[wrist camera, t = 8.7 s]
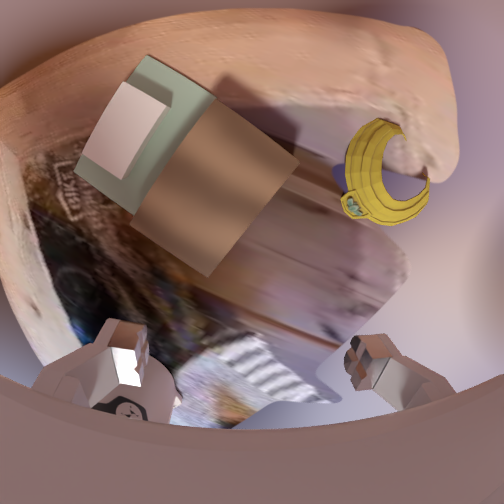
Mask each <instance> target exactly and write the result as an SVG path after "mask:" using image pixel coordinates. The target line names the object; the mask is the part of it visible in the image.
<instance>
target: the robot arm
mask: <svg viewBox="0 0 504 504" xmlns="http://www.w3.org/2000/svg"><path fill="white" fill-rule="evenodd" d="M146 336H147V326H146V324H141V323H135V322H129V321H124V320H118V319H112V318H109V319H107V320H106V322H105V324H104V325H103V327H102V329H101V331H100V332H99V334H98V336H97V338H96V340H95V341H94V343H93V344H92V343H89V344H87V345H85V346H83V347H81V348H79V349H77V350H76V351H74V352H72V353H70V354H68V355H66V356H64V357H62V358H60V359H58V360H56V361H54V362H52V363H50V364H49V365H47V366H45V367H43V369H42V371H41V372H40V374H39V376H38V377H37V379H36V381H35V382H34V384H33V386H32V388H29V387H26V386H24V385H22V384H19V383H17V382H15V381H13V380H11V379H8V378H6V377H4V376H2V375H0V504H504V374H502V375H498V376H496V377H494V378H492V379H490V380H488V381H486V382H483V383H481V384H479V385H476V386H474V387H472V388H469V389H467V390H464V391H462V392H459V393H456V392H455V390H454V389H453V388H452V387H451V385H450V384H449V383H448V381H447V380H446V378H445V377H443V376H441V375H439V374H438V373H436V372H434V371H432V370H430V369H428V368H427V367H425V366H423V365H421V364H419V363H418V362H416V361H414V360H412V359H410V358H408V357H407V356H402V355H401V353H400V352H399V350H398V349H397V348H396V346H395V345H394V344H393V342H392V341H391V340H390V338H389V337H388V336H387V335H386V334H375V335H356V336H354V337H353V338H352V340H351V342H350V344H351V348H350V349H349V350H348V351H347V352H346V354H345V357H344V367H345V370H346V372H347V373H348V374H350V375H351V376H352V377H351V382H352V384H353V386H354V388H355V390H356V391H360V390H369V389H373V391H374V392H376V393H377V394H378V395H379V396H380V397H382V398H383V399H384V400H385V401H386V402H388V403H389V404H390V405H391V406H392V407H394V408H395V409H396V410H398V412H394V413H390V414H386V415H381V416H376V417H372V418H366V419H361V420H355V421H349V422H343V423H337V424H329V425H321V426H311V427H301V428H300V427H299V428H284V429H216V428H201V427H189V426H180V425H172V424H169V422H170V418H171V414H172V410H173V408H175V407H177V406H179V405H181V403H182V400H183V399H182V397H181V395H180V394H179V393H178V392H177V390H176V388H175V383H174V379H173V377H172V375H171V374H170V372H169V371H168V370H167V368H166V367H165V366H164V365H163V364H161V363H160V362H159V361H158V360H156V359H155V358H153V357H152V356H150V355H149V343H148V341H147V340H146Z"/></svg>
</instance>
